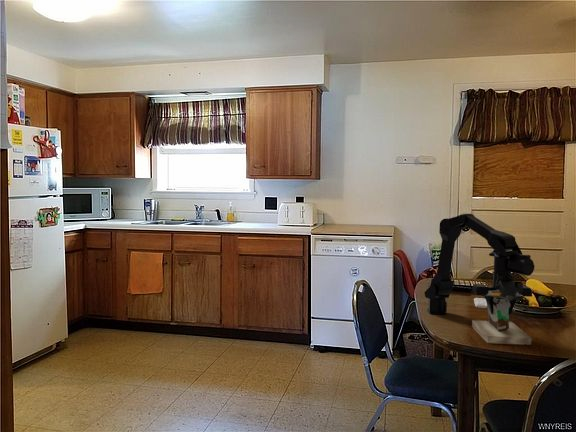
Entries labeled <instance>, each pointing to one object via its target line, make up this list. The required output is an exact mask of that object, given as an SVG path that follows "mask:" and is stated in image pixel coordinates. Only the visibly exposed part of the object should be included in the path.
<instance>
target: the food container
mask: <svg viewBox="0 0 576 432" xmlns="http://www.w3.org/2000/svg"><path fill="white" fill-rule="evenodd" d="M492 296H494V298H493V314H491V313H490V310H489V307H488V304H487V308H486V309H487V316H488V321H489V323H490V324H491V325H492V326H493V327H494V328H495V329H496V330H497V331H498V332H499V331H505V330H507V329H508V328H509V322H510V315H509V307H510V306H511V305H510V302H509V300H508V298H509V297H507V296H503V295H494V294H492Z"/></svg>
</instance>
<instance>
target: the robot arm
mask: <svg viewBox="0 0 576 432" xmlns="http://www.w3.org/2000/svg"><path fill="white" fill-rule="evenodd" d="M465 228H469V229H470V230H471V231H473V232H474V233H476V234H477V235H479V236H481V237H482V238H483V239H484V240H485V241H487V244H488V246H490V248H492V249H493V251H491V252H490V253H488V256H489V257H493V271H492V276H493V279H492V283H491V286H487V285H486V284H484V283H473V285H472V286H471V292H472V293H473V294H475V295H477V296H482V297H484V299H486V301H487V304H488V307H489V310H490V313H491V314H493V298H494V296H492V295H493V293H496V294H497V293H498V294H499V293H500V294H501V295H500V296H503V297H507V298H508V300H509V302H510V305H511V306H510V307H509V316H510V315H511V314H512V312H513V311H514V310H513V308H514V306H515V304H516V302H517V301H520V300H523V299H524V297H526V298H527V297H529V298H531V297H533V289H532V288H531V287H530V286H528V285H524V283H523V282H522V281H519V280H516V281H514V278H513V277H514V276H513V274H518V275H521V276H526V277H528V276H531V275H532V274H533V273H534V271H535V264H534V260H533V259H531V255H530V254H523V252H522V250H521V248H520V247H519V245H518V243H517V241H516V237H515V236H514V235H513V234H511V233H507V232H505V231H500V230H497V229H495V228H493V227H492V226H490V225H488V224H487V223H486V222H485V221H483V220H481V219H480V218H478V217H476V216H475V215H474V214H472V213H461V214H459V215H457V216H453V217H450V218H443V219H441V220H440V221H439V228H438V229H439V235H440V237H441V245H440V251H439V258H438V263H437V270H436V274H435V275H434V276H433V278H432V279H431V282H430V284H429V287H428V288H427V289H426V290H425V291H424V298H426V299H428V304H427V305H428V306H427V310H426V311H427V312H428V313H429V315H447V310H448V309H447V307H448V305H447V304H448V302H447V300H446V299H448V298H449V297H450V295H451V293H452V292H453V291H454V285H455V280H452V278H451V276H450V275H451V268H452V262H453V257H454V251H455V245H456V241H457V240H458V238H459V237H460V236H461V234H462V231H463V229H465ZM512 273H513V274H512Z"/></svg>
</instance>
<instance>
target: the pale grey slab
mask: <svg viewBox="0 0 576 432" xmlns="http://www.w3.org/2000/svg"><path fill="white" fill-rule="evenodd" d="M471 327H472V329H474V330H475V332H476V333H478V335H479V336H480V337H481V338H482V339H483V340H484V341H485V342H486V343H487V344H502V345H506V344H507V345H525V344H526V346H527V345H528V346H529V345H531V346H532V337H531V336H530V335H529V334H528V333H526V332H525V331H523V330H522V328H520V327H518V326H517V324H515V323H514V322H512V321H509V328H508V329H507V330H505V331H499V332H498V331H497V330H496V329H495V328H494V327H493V326H492V325H491V324H490V323H489V320H478V319H477V320H475V319H474V320H473V319H472V320H471Z"/></svg>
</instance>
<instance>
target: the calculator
mask: <svg viewBox="0 0 576 432" xmlns="http://www.w3.org/2000/svg"><path fill="white" fill-rule="evenodd" d="M473 303H474V306H475V308H482V309H487V301H486V299H485V298H483V297H481V298H479V297H475V298H473Z"/></svg>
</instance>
